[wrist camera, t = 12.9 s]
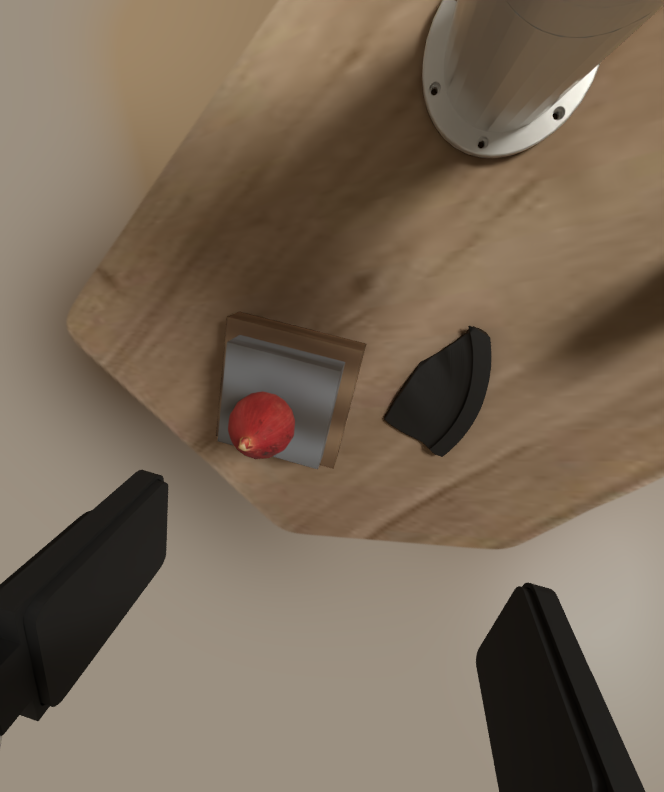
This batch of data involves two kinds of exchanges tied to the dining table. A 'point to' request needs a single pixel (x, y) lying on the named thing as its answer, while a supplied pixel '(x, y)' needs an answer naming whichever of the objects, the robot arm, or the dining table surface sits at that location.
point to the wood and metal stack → (291, 381)
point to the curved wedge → (445, 393)
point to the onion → (261, 425)
